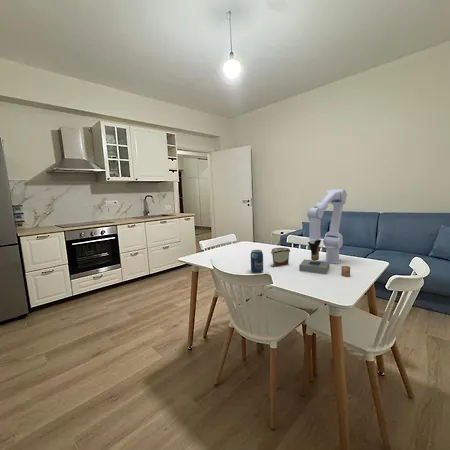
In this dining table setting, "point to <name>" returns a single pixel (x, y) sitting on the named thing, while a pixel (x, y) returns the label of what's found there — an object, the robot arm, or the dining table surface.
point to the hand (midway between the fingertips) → (314, 253)
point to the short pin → (345, 271)
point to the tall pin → (315, 257)
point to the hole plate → (314, 266)
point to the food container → (280, 256)
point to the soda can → (256, 261)
